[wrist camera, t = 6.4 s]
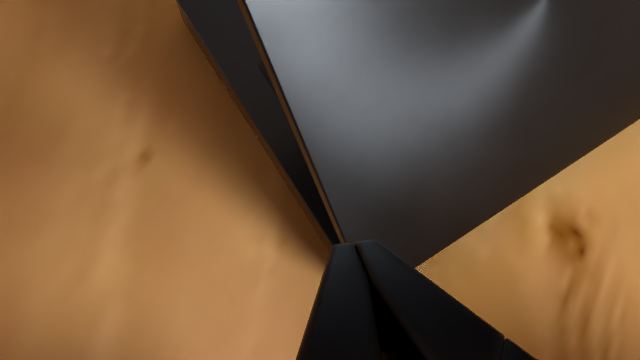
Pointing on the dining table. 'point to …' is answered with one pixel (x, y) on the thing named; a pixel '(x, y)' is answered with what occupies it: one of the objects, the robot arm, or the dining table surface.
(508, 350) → the robot arm
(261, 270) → the dining table surface
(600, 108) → the laptop screen
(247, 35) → the laptop
